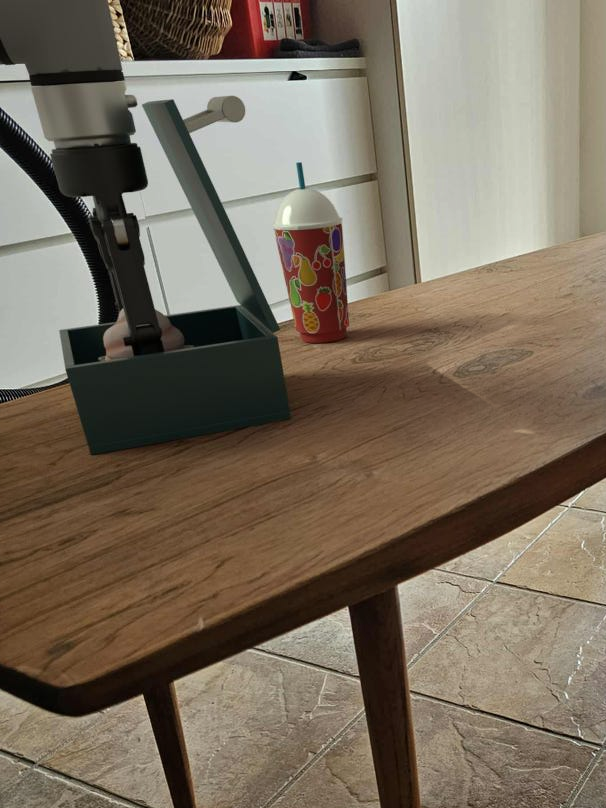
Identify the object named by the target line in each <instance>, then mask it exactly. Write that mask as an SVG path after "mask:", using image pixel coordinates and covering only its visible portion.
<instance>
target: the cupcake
mask: <svg viewBox="0 0 606 808" xmlns="http://www.w3.org/2000/svg"><path fill="white" fill-rule="evenodd" d="M155 312H156V315H157V319H158V323H159V327H160V328H161V329H162V338H161V340H162V343H163V347H164V352H167V351H173V350H180V349H187V348H193V347H194V346H186V345H184V337H183V334H182V333H181V332H180V331H179V330H178V329H177V328H175V327H174V326H172V325H171V323H170V321H169V319H168V318H167V317H166V316H165V315H166V314H163V312H160V311H159V310H158V309H155ZM116 322H117V323H116V324H115V325H113V326H112V327H110V328H109V329H108V330H107V331H106V332H105V334H104V337H103V340H104V347H105V348H106V355H107V356H103V357H100V358H98V359H99V360H100V361H107V360H114V359H120V358H127V357H133V356H134V354H133V350H132V346H125V345H124V341H123V337H130V331H129V327H128V324H127V320H126V316H125V313H124V309H122V310H121V311H120V314H119V313H118V317H117V320H116ZM146 325H150V324H142V325H137V326H136V327H139V326H146Z"/></svg>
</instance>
